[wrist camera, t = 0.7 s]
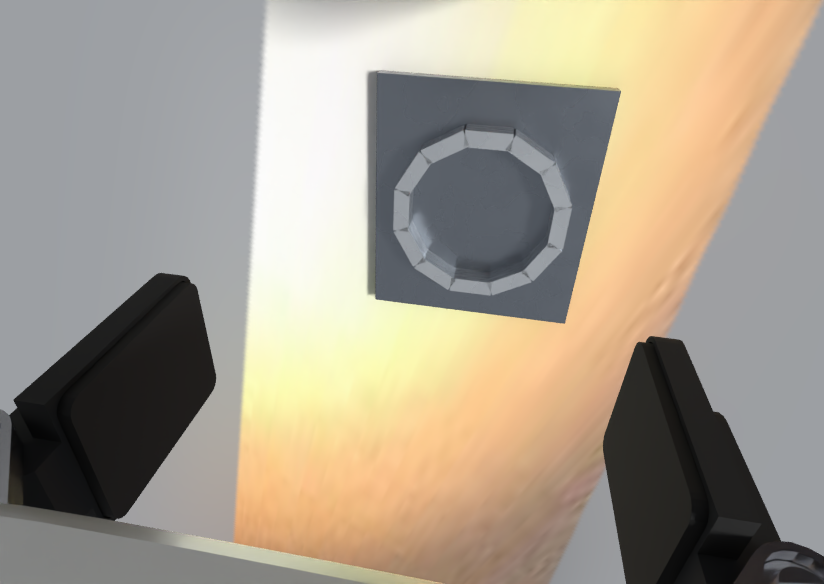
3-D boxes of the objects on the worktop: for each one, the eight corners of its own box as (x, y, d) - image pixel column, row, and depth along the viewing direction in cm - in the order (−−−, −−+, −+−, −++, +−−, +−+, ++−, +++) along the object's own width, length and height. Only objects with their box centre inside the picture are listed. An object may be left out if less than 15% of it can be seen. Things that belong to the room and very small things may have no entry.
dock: (380, 70, 32) (371, 76, 30) (618, 88, 30) (625, 96, 28) (377, 293, 40) (370, 310, 38) (563, 317, 39) (566, 335, 37)
